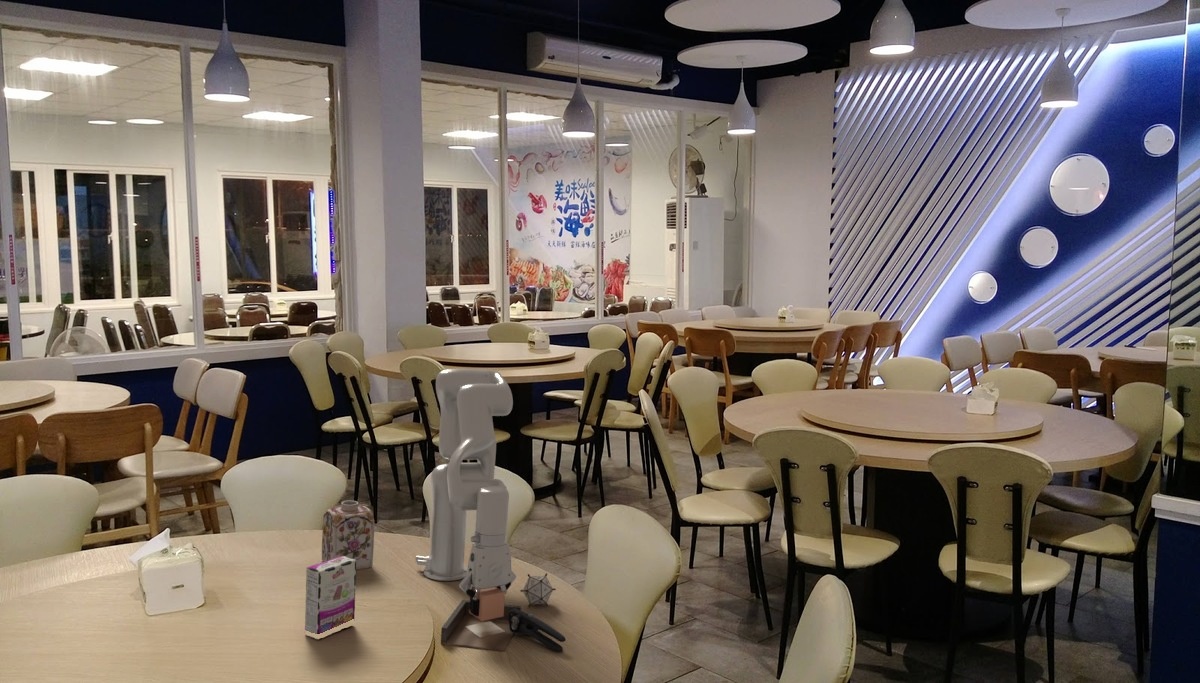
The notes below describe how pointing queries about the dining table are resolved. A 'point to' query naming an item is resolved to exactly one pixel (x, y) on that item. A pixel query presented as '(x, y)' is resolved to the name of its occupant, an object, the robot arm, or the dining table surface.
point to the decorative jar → (349, 533)
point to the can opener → (534, 628)
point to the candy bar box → (330, 594)
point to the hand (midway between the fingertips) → (486, 610)
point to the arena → (477, 629)
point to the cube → (491, 603)
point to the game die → (537, 590)
